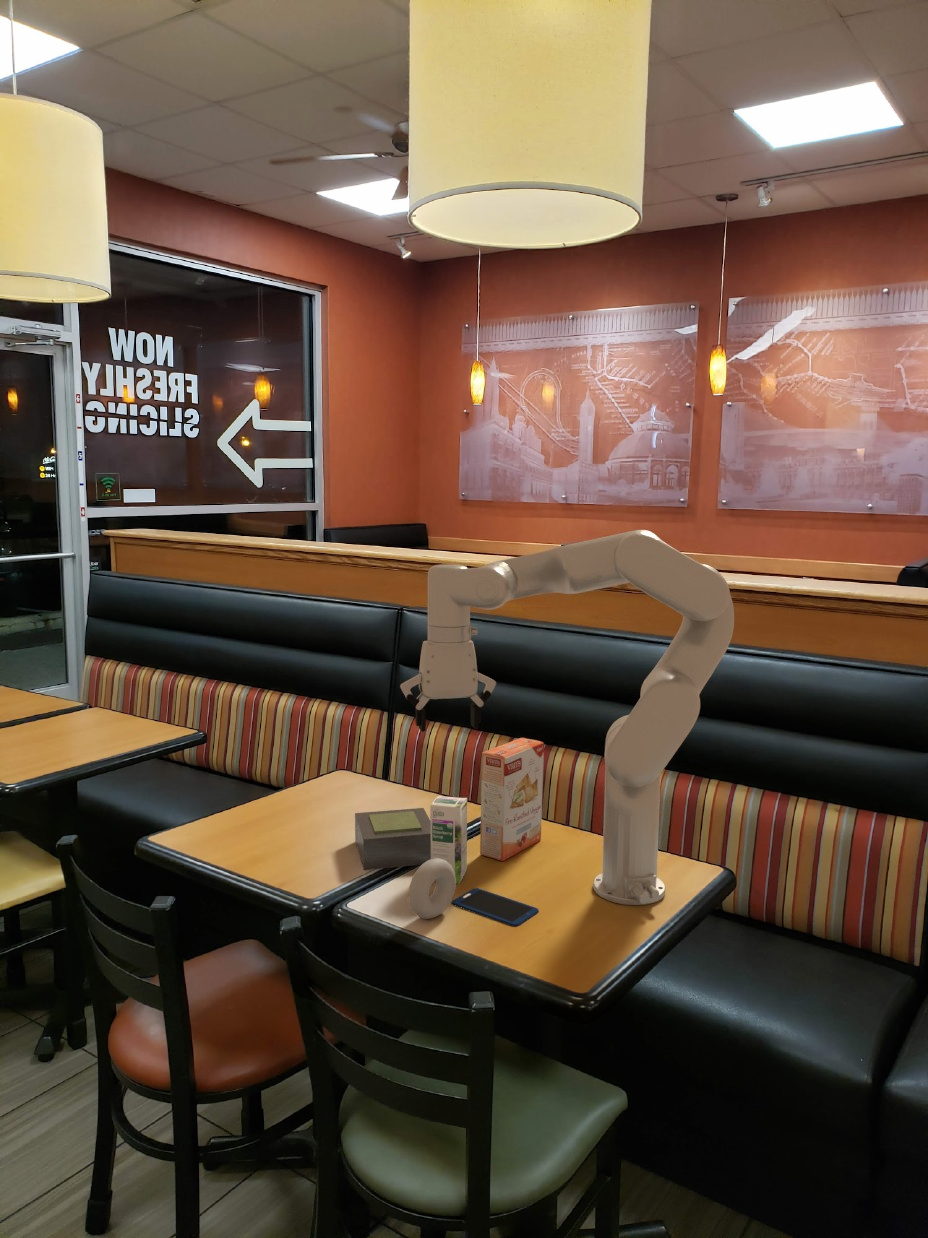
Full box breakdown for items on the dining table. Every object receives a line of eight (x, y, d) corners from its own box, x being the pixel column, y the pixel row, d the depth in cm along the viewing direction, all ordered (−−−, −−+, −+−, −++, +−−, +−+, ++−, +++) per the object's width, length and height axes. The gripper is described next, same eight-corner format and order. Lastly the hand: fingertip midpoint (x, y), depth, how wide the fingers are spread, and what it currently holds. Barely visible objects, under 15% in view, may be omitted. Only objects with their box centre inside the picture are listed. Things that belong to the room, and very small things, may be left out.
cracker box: (504, 863, 173) (505, 757, 170) (478, 855, 176) (479, 751, 173) (543, 840, 184) (545, 740, 181) (518, 834, 187) (520, 735, 184)
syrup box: (429, 881, 165) (429, 804, 163) (438, 868, 171) (438, 793, 168) (460, 884, 164) (460, 807, 161) (467, 871, 169) (468, 796, 167)
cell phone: (474, 890, 162) (474, 887, 162) (540, 913, 153) (540, 909, 153) (449, 905, 156) (449, 901, 156) (516, 930, 148) (516, 925, 148)
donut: (419, 931, 146) (418, 872, 145) (404, 924, 149) (403, 866, 147) (460, 909, 154) (460, 853, 152) (445, 903, 156) (445, 848, 155)
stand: (437, 863, 173) (437, 831, 172) (363, 870, 169) (363, 837, 168) (423, 835, 186) (423, 806, 185) (355, 841, 183) (354, 811, 182)
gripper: (490, 629, 166) (489, 720, 169) (397, 632, 162) (397, 725, 165) (501, 636, 159) (500, 731, 161) (403, 639, 155) (404, 736, 157)
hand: (448, 728), depth 163 cm, fingers open, 9 cm apart
